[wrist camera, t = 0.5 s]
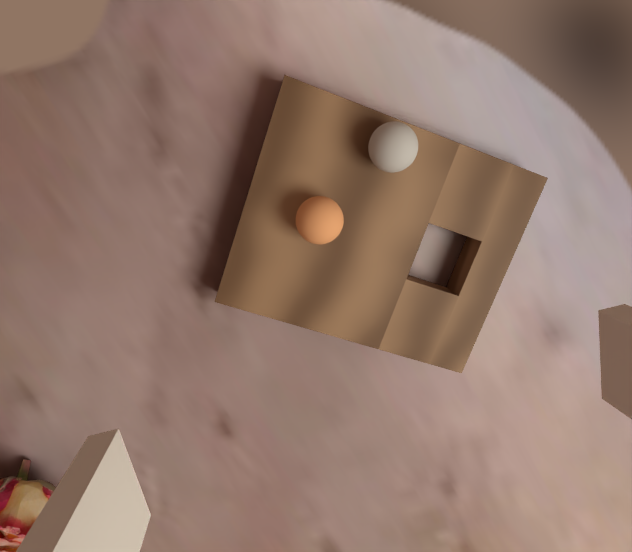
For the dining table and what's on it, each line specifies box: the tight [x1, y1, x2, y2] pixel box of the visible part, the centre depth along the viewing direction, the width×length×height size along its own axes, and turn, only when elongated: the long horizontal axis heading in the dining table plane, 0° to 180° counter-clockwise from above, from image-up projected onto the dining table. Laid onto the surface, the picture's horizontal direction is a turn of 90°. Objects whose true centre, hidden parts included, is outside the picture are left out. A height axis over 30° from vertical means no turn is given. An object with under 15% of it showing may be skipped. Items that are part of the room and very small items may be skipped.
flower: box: [0, 459, 56, 552], centre depth 34 cm, size 10×9×8 cm
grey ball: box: [368, 121, 418, 173], centre depth 29 cm, size 3×3×3 cm
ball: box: [296, 196, 344, 244], centre depth 30 cm, size 3×3×3 cm
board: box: [215, 75, 548, 373], centre depth 34 cm, size 20×16×2 cm
